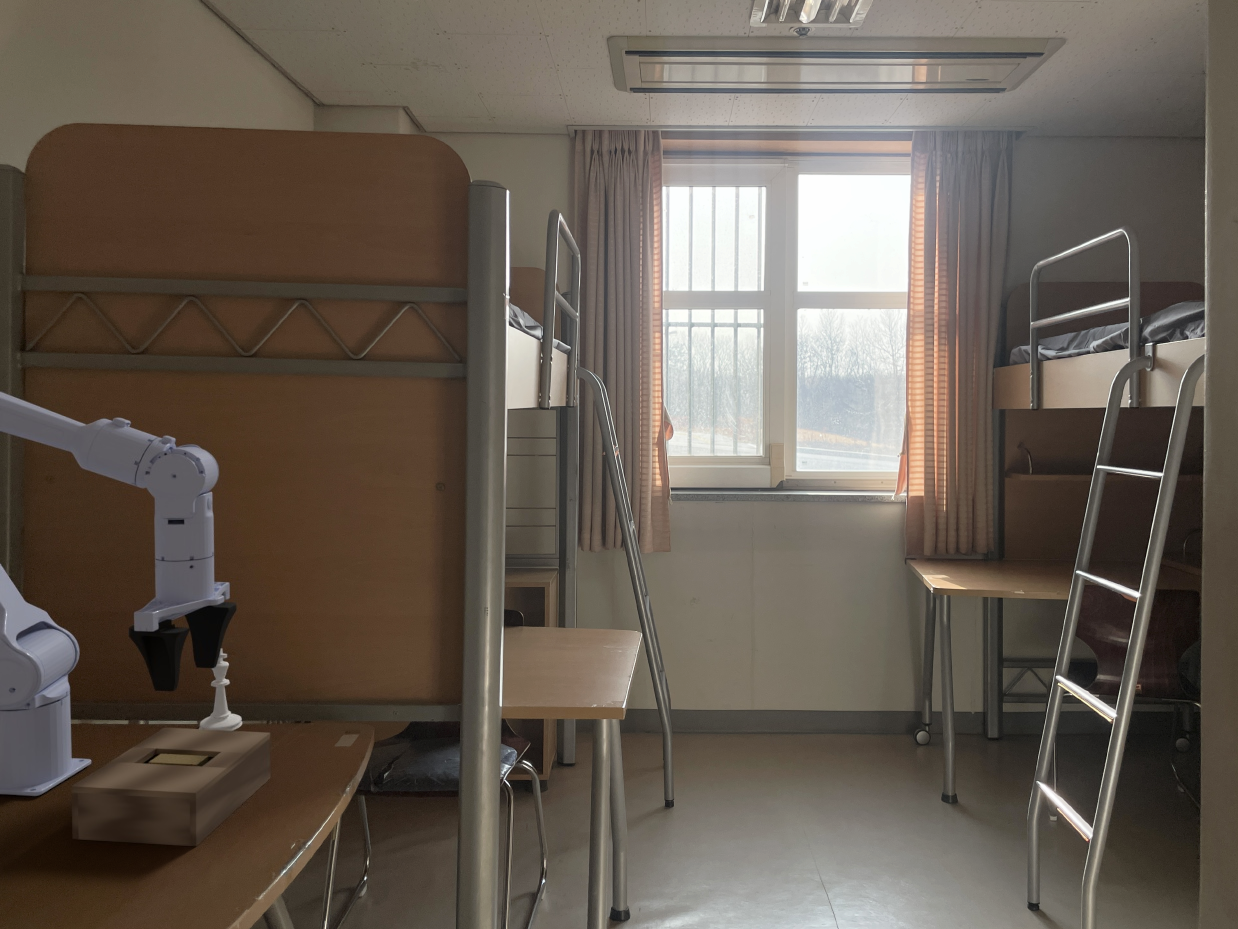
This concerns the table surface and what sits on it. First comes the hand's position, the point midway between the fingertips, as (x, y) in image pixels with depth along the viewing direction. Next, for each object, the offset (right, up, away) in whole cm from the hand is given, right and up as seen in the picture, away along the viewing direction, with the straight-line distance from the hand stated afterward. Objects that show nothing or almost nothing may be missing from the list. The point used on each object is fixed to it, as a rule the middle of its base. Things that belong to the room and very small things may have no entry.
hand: (186, 678), depth 90 cm
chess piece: (-3, -10, +13) cm, 16 cm away
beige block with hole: (+3, -11, -8) cm, 14 cm away
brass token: (+3, -11, -8) cm, 14 cm away
